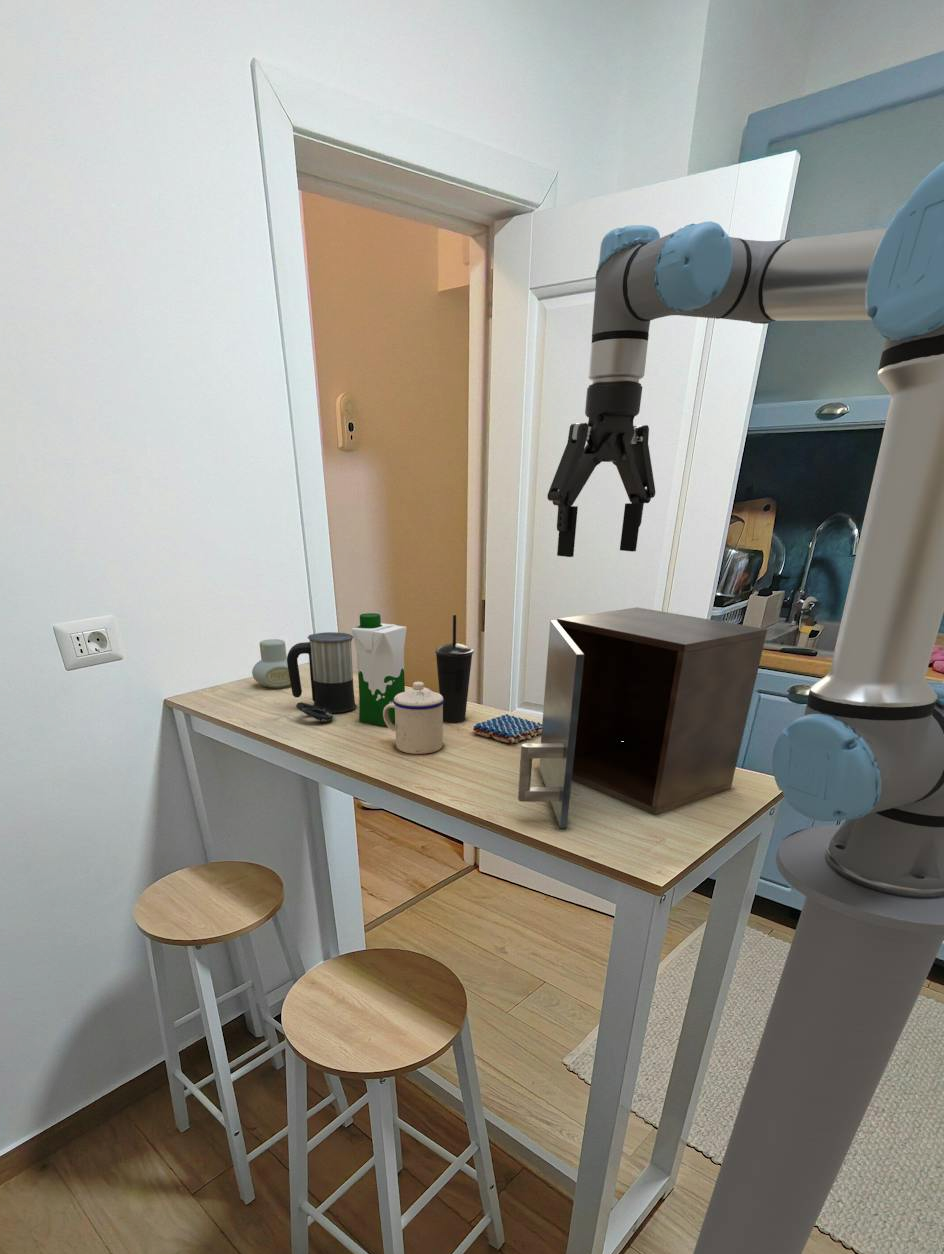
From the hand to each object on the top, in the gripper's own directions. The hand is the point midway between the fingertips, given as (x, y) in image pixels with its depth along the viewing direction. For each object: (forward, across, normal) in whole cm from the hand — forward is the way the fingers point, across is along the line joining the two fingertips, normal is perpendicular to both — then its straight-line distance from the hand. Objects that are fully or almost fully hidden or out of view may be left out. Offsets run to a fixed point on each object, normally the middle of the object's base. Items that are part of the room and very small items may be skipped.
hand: (597, 553), depth 109 cm
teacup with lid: (+32, +20, -22) cm, 44 cm away
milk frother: (+32, +24, -50) cm, 64 cm away
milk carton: (+32, +16, -39) cm, 53 cm away
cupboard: (+32, 0, +13) cm, 35 cm away
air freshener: (+32, +22, -78) cm, 87 cm away
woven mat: (+32, +2, -17) cm, 37 cm away
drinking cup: (+32, +4, -31) cm, 45 cm away
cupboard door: (+32, +19, +9) cm, 38 cm away
